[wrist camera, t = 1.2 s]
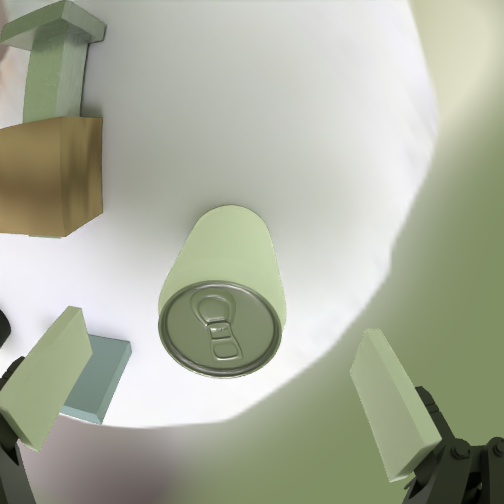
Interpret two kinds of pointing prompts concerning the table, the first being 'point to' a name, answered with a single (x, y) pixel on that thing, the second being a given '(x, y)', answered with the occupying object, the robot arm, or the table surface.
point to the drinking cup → (4, 329)
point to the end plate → (98, 380)
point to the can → (223, 297)
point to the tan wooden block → (50, 175)
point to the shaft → (54, 58)
